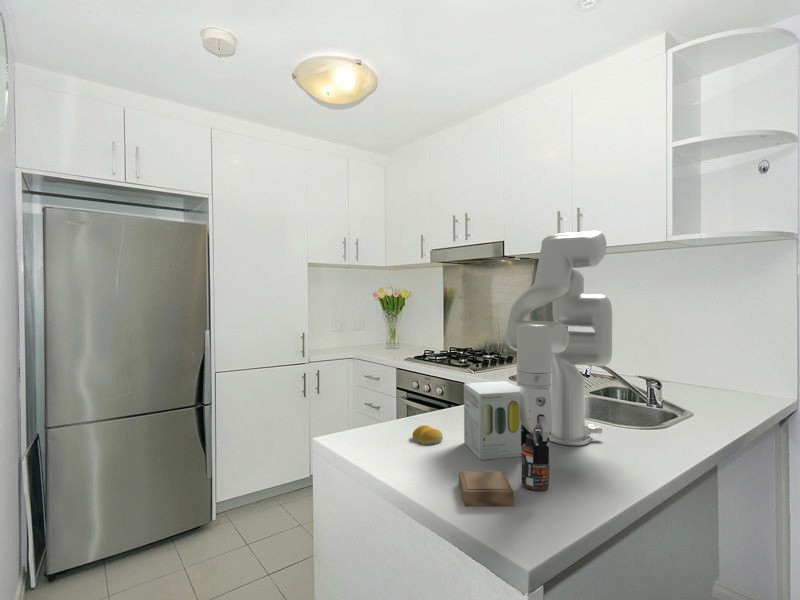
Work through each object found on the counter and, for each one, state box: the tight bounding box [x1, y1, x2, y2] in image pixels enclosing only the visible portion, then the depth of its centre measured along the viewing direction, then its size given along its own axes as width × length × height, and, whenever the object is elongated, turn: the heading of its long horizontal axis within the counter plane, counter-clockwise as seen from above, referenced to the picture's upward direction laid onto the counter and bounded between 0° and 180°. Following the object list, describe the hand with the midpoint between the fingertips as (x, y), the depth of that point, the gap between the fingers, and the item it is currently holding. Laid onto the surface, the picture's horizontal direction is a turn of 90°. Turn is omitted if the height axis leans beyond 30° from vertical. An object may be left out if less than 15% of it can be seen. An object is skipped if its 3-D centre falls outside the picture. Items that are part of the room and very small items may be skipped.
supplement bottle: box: [520, 433, 550, 492], centre depth 96 cm, size 6×6×11 cm
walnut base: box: [458, 470, 515, 507], centre depth 93 cm, size 10×10×3 cm
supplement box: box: [463, 380, 524, 461], centre depth 118 cm, size 13×13×18 cm
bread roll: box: [412, 424, 444, 445], centre depth 127 cm, size 8×9×4 cm
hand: (534, 455), depth 96 cm, fingers open, 9 cm apart
